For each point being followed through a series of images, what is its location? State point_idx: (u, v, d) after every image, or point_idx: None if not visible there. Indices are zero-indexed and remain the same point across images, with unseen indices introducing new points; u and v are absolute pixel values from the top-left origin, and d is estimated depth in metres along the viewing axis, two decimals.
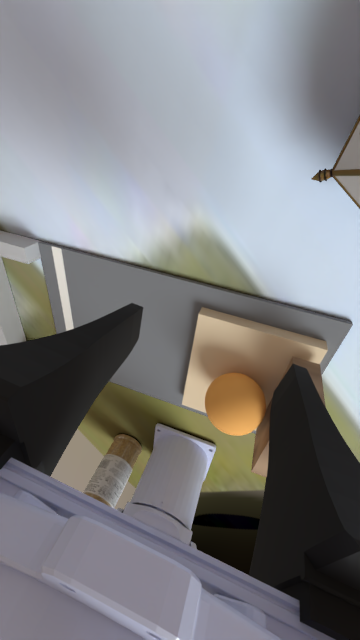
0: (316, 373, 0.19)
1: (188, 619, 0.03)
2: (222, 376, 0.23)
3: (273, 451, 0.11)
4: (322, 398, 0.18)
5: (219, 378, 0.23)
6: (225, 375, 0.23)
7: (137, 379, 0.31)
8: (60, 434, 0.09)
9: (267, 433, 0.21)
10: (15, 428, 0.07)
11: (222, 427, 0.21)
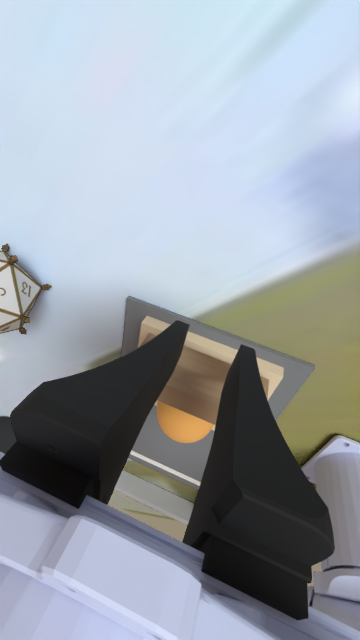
0: None
1: (188, 619, 0.03)
2: None
3: (217, 427, 0.11)
4: None
5: None
6: None
7: None
8: (120, 462, 0.09)
9: None
10: (98, 468, 0.06)
11: (179, 440, 0.21)
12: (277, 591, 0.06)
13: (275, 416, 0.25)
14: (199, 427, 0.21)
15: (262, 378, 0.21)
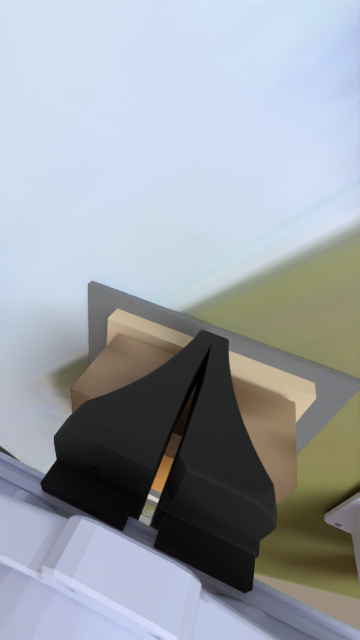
0: None
1: (188, 619, 0.03)
2: None
3: (189, 415, 0.11)
4: (81, 376, 0.13)
5: None
6: None
7: None
8: (153, 478, 0.09)
9: None
10: (145, 490, 0.06)
11: None
12: (224, 565, 0.06)
13: (298, 447, 0.18)
14: None
15: (285, 400, 0.14)
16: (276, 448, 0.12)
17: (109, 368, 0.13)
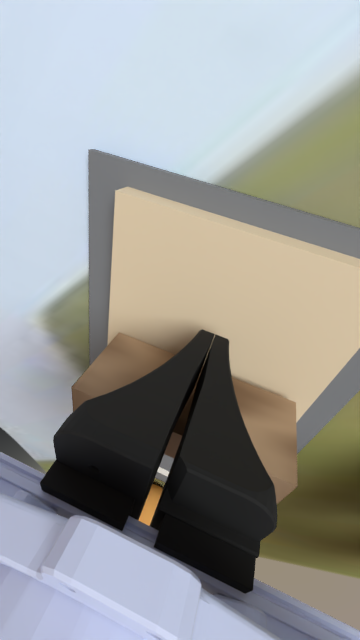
0: None
1: (188, 619, 0.03)
2: None
3: (189, 415, 0.11)
4: (82, 375, 0.13)
5: None
6: None
7: None
8: (153, 478, 0.09)
9: None
10: (145, 490, 0.06)
11: (160, 487, 0.28)
12: (225, 565, 0.06)
13: None
14: None
15: (286, 400, 0.14)
16: (277, 448, 0.12)
17: (110, 367, 0.13)
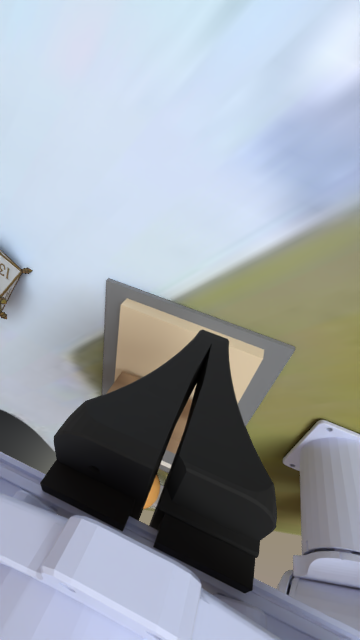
0: None
1: (188, 619, 0.03)
2: None
3: (189, 415, 0.11)
4: None
5: None
6: None
7: None
8: (153, 478, 0.09)
9: None
10: (145, 490, 0.06)
11: None
12: (224, 565, 0.06)
13: (258, 401, 0.25)
14: None
15: None
16: None
17: None
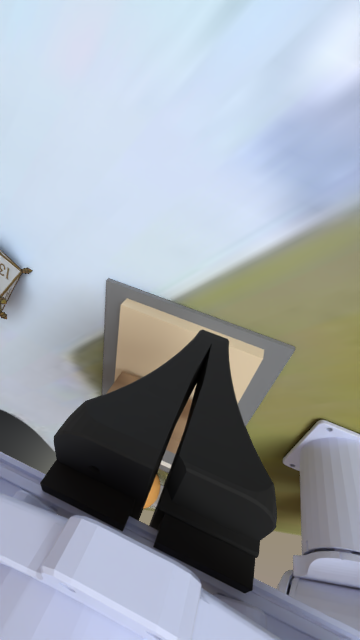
0: None
1: (188, 619, 0.03)
2: None
3: (189, 415, 0.11)
4: None
5: None
6: None
7: None
8: (153, 478, 0.09)
9: None
10: (145, 490, 0.06)
11: None
12: (224, 565, 0.06)
13: (258, 401, 0.25)
14: None
15: None
16: None
17: None
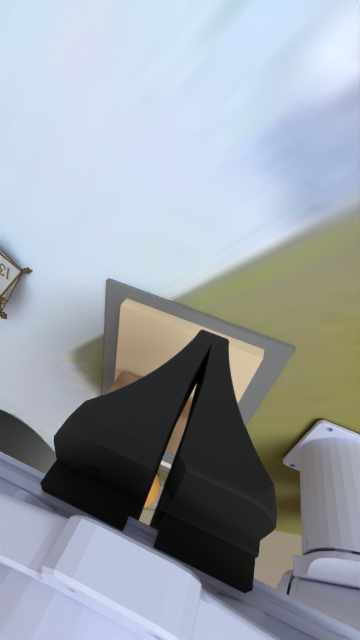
0: None
1: (188, 619, 0.03)
2: None
3: (189, 415, 0.11)
4: None
5: None
6: None
7: None
8: (153, 478, 0.09)
9: None
10: (145, 490, 0.06)
11: None
12: (224, 565, 0.06)
13: (258, 401, 0.25)
14: None
15: None
16: None
17: None
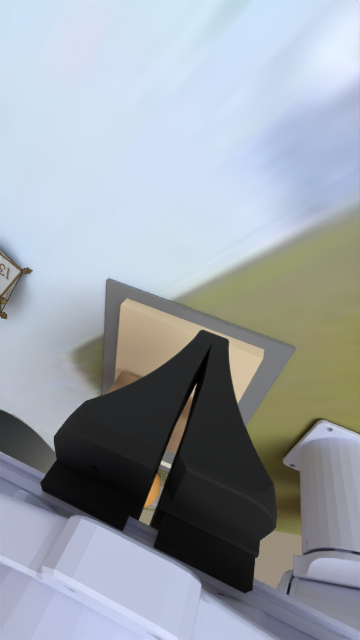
0: None
1: (188, 619, 0.03)
2: None
3: (189, 415, 0.11)
4: None
5: None
6: None
7: None
8: (153, 478, 0.09)
9: None
10: (145, 490, 0.06)
11: None
12: (224, 565, 0.06)
13: (258, 401, 0.25)
14: None
15: None
16: None
17: None
